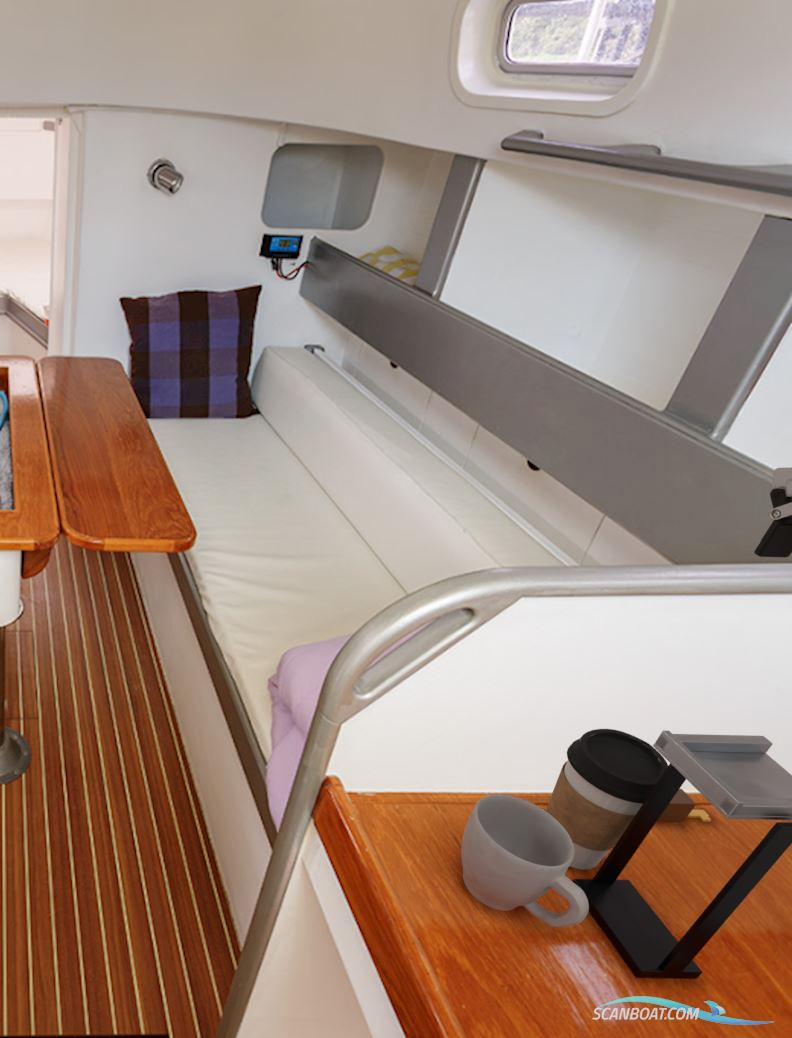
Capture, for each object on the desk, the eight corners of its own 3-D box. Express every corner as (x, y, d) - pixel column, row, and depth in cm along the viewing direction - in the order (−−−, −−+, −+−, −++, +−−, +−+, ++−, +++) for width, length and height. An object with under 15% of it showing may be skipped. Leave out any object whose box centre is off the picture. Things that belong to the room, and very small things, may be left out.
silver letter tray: (754, 748, 68) (765, 732, 67) (839, 821, 61) (853, 805, 60) (652, 745, 68) (662, 730, 67) (726, 818, 61) (738, 802, 60)
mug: (426, 866, 81) (455, 807, 76) (482, 841, 84) (513, 783, 79) (528, 970, 71) (569, 910, 66) (588, 938, 74) (630, 878, 69)
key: (650, 821, 87) (663, 803, 85) (637, 806, 89) (649, 787, 87) (712, 822, 87) (726, 804, 85) (697, 807, 89) (710, 789, 87)
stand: (623, 886, 79) (728, 739, 68) (697, 979, 71) (829, 828, 60) (569, 885, 79) (665, 737, 68) (636, 978, 71) (757, 826, 60)
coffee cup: (629, 866, 81) (694, 772, 74) (578, 890, 79) (641, 795, 71) (556, 807, 88) (609, 715, 81) (507, 828, 85) (558, 735, 78)
